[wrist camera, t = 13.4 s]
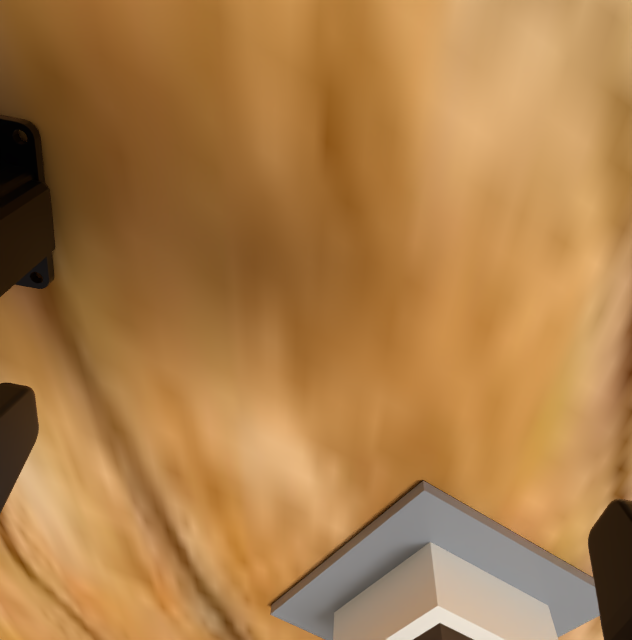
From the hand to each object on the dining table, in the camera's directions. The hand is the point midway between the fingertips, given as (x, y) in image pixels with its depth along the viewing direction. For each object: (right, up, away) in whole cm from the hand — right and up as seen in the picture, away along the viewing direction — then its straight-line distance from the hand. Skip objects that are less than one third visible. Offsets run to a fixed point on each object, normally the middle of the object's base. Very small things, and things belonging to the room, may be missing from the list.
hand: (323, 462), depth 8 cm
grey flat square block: (+7, -14, +23) cm, 28 cm away
